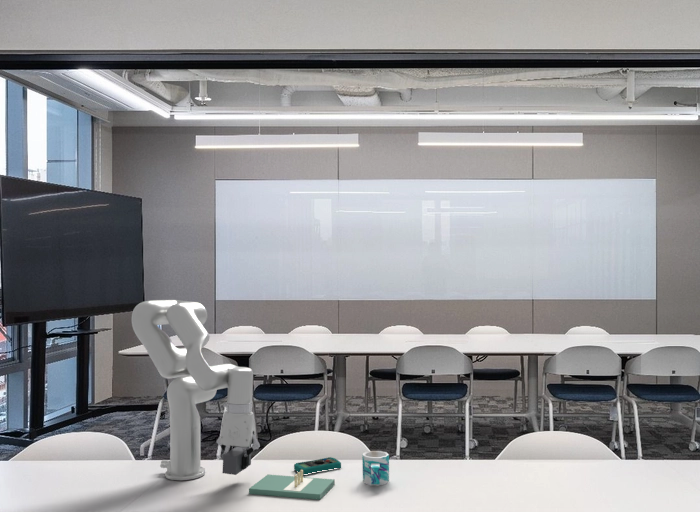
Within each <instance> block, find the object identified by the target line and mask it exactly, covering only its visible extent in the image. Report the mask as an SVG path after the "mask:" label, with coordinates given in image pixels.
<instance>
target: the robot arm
mask: <svg viewBox="0 0 700 512" xmlns="http://www.w3.org/2000/svg"><path fill="white" fill-rule="evenodd" d="M207 320H208V311H207V309H206V308H205V306H204V305H203V304H202V303H200V302H198V301H189V300H188V301H187V300H178V299H151V300H146V301H141V302H140V303H138V304H136V306H135V307H134V308H133V311H132V313H131V326H132V329H133V332H134V333H135V335H136V338H137V339H138V340H139V341H140V343H141V344H142V345H143V347H144V348H145V350H146V352H147V354H148V356H149V358H150V359H151V361H152V363H153V365H154V366H155V368H156V370H157V371H158V373H159V375H160V376H161V377H162V378H164V379H167V380H168V379H173V380H172V381H171V382H170V383H169V384H168V386H167V389H166V396H167V397H166V399H167V402H168V408H169V409H168V410H169V416H170V417H169V425H170V426H169V427H170V429H169V431H170V433H169V436H170V438H169V439H170V441H169V445H170V446H169V447H170V449H169V450H170V451H169V460H167V459H162V460H161V462H160V465H159V467H160V468H161V469H162V468H163V469H165V468H166V471H165V473H164V476H165V478H166V479H168V480H172V481H189V480H194V479H199V478H201V477H203V476H204V475H205V474H206V468H204V467H202V466H201V416H200V412H199V411H198V408H197V406H196V405H197V404H201V403H204V402H208V401H210V400H212V399H213V398H214V397H215V396H216V394H217V390H223V389H227V399H226V402H223V408H225V409H226V411H224V412H223V415H222V421H221V426H220V435H219V436H218V438H217V439H216V444H217V445H218V446H219V447H220V448H221V449H222V451H223V453H224V454H225V453H227V452H229V451H230V450H232V449H234V448H235V447H242V448H243V457H242V471H245V470H246V469H247V468H248V467H249V466H248V465H249V455H250V454H251V455H252V453H253V452H255V451H256V450H257V449H259V448H260V447H261V445H260V443H259V441H258V439H257V437H256V421H255V415H254V412H253V411H252V410H253V409H252V408H253V385H254V383H253V382H254V372H253V369H252V368H250V367H247V366H237V365H235V364H232V363H222V364H221V363H220V364H215V365H209V364H208V362H207V361H206V359H205V358H204V356H203V353H202V349H203V348H204V347H206V345H207V344H208V342H209V341H210V337H211V336H210V334H209V332H208V331H207V329H206V328H205V326H204V325H205V323H206V321H207ZM162 325H164V326H165V325H169V326H170V327H171V329H172V331H174V333H175V334H176V336H177V338H178V340H179V341H180V342H181V344H182V346H184V347H181V348H179V347H176V346H175V344H174V342H173V341H172V339H171V337H170V336H169V335H168V334H167V332H166V331H164V330H163V329H161V328H160V327H159V326H162ZM251 445H252V446H251ZM233 447H234V448H233ZM250 447H251V448H250Z"/></svg>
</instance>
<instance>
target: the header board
mask: <svg viewBox="0 0 700 512" xmlns="http://www.w3.org/2000/svg"><path fill="white" fill-rule="evenodd" d="M296 473H297V474H294V476H291V475H281V474H280V475H279V474H267V475H265V476H264V477H262V478H261V479H260V480H258V481H257V482H256V483H255V484H253V485H252V486H250V487H248V494H249V495H258V496H269V497H271V496H272V497H280V498H281V497H284V498H295V499H296V498H297V499H303V500H305V499H306V500H307V499H308V500H316V501H318V500H319V501H320V500H322V498H323V497H324V496H325V495H326V494H328V492H329V491H330V490H331V489H332V488H333V487H334V486H335V483H336V482H335V479H334V478H333V479H332V478H323V477H322V478H319V477H307V476H306V477H304V475H303V470H300V472H296Z"/></svg>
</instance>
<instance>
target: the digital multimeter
mask: <svg viewBox="0 0 700 512" xmlns="http://www.w3.org/2000/svg"><path fill="white" fill-rule="evenodd" d="M334 468H341V469H342V462H341V461H340V460H338V459H337V458H335V457H332V456H330V457H324V458H320V459H313V460H306V461H302V462H295V463H294V465H293V470H294V469H295V470H296V471H298V472H300V470H303V474H308V473H312V472H317V471H322V470H328V469H334ZM295 470H294V471H295ZM296 471H295V472H296Z"/></svg>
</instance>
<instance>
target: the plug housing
mask: <svg viewBox="0 0 700 512" xmlns="http://www.w3.org/2000/svg"><path fill="white" fill-rule="evenodd" d="M251 447H252V446H250V448H251ZM222 456H223V457H222V471H221V472H222V473H221V474H227V475H235V476H236V475H238V474H240V473H241V472H242V471H243V470H242V457H243V448H242V447H234V448H232V450H230V451H229V452H227V453H224V454H222ZM251 465H252V453H251V454H250V455H249V465H248V467H249V466H251Z"/></svg>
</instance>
